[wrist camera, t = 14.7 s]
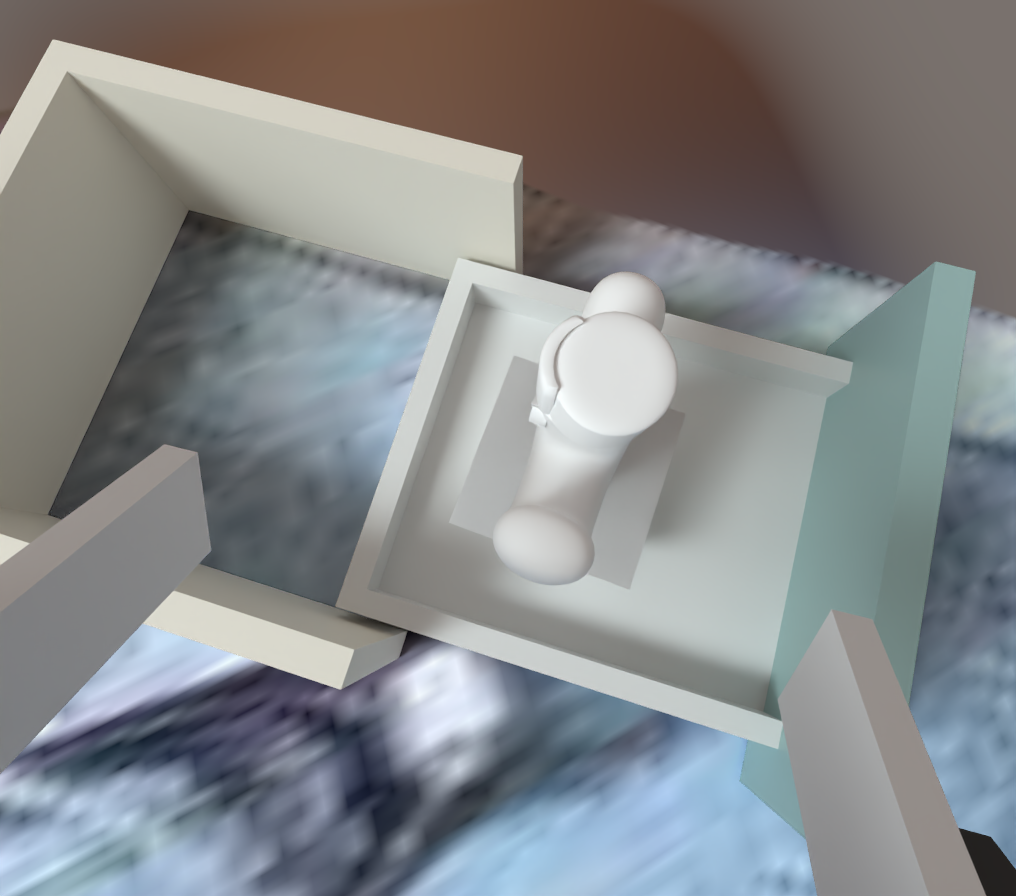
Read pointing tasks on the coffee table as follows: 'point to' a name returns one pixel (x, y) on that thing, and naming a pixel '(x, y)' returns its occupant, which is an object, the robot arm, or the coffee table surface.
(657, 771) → the coffee table surface
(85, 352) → the cubby
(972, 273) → the tray
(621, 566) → the figurine
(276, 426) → the coffee table surface
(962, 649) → the coffee table surface
